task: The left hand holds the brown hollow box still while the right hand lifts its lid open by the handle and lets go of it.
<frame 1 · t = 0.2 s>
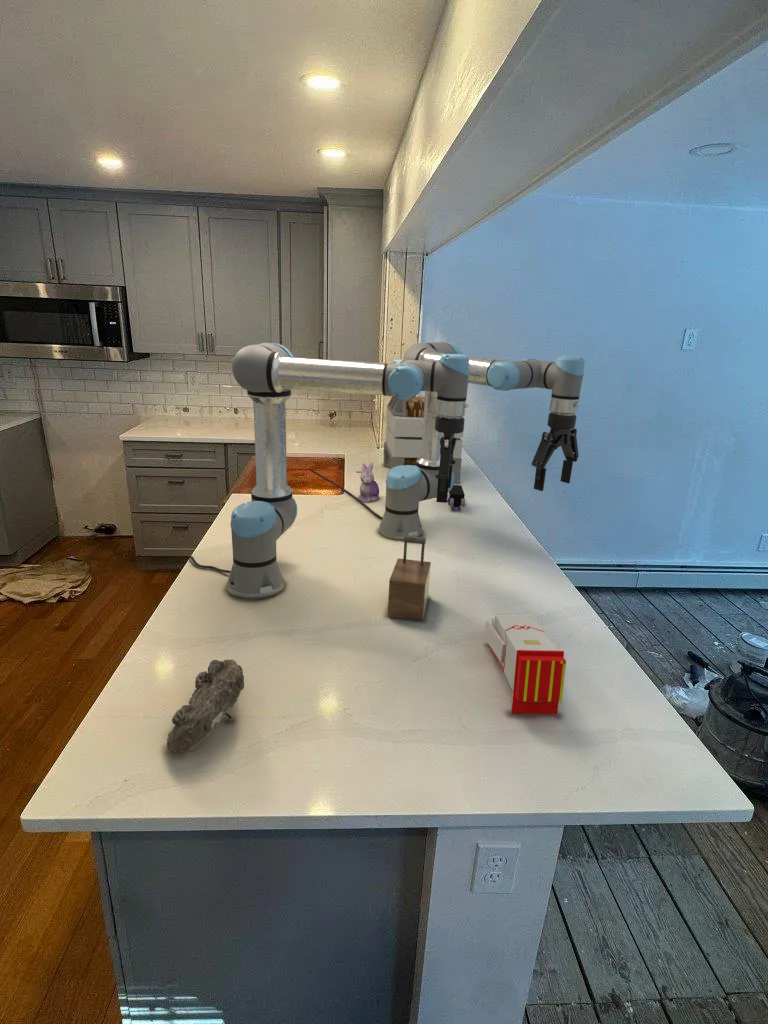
left hand: (443, 494, 153), 28 cm above the counter, tool pointing down, fingers open, 13 cm apart
right hand: (551, 485, 166), 28 cm above the counter, tool pointing down, fingers open, 13 cm apart
figurine: (368, 499, 235), on the counter
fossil: (212, 717, 108), on the counter
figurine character: (454, 506, 230), on the counter
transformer: (419, 473, 275), on the counter
brown hollow box: (408, 606, 151), on the counter
lid: (411, 558, 147), point 14 cm above the counter, hinge at 0.0°
toy: (516, 673, 125), on the counter
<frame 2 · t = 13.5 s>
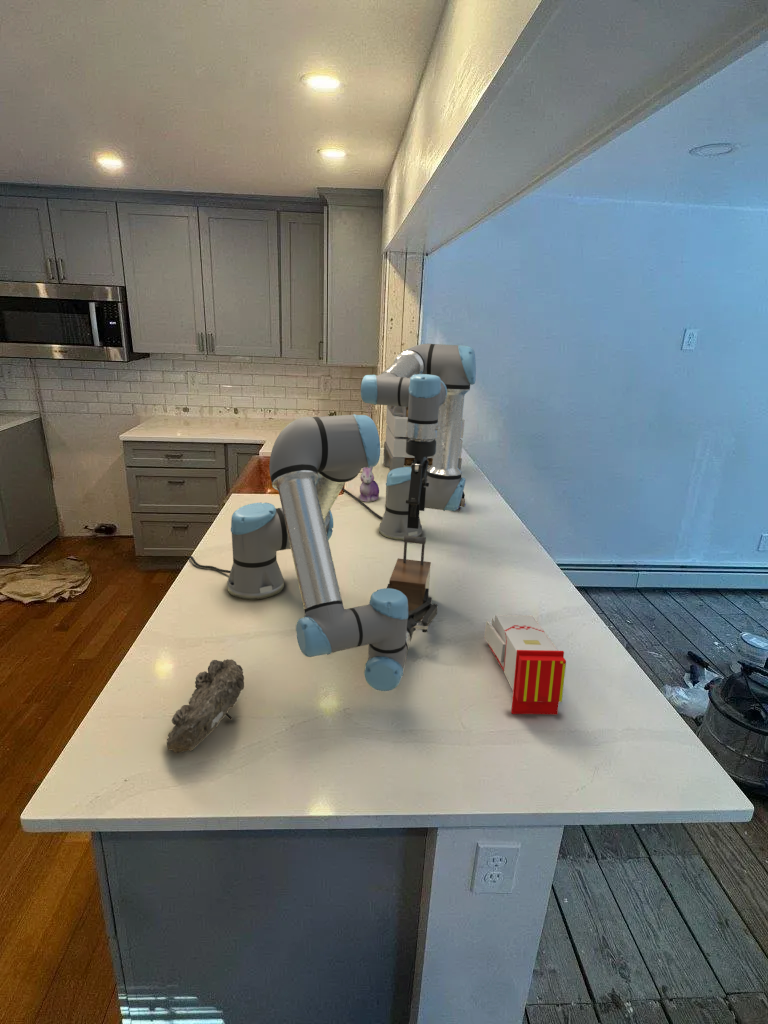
left hand: (408, 590, 146), 6 cm above the counter, tool horizontal, fingers closed on brown hollow box, 9 cm apart
right hand: (416, 518, 148), 23 cm above the counter, tool pointing down, fingers open, 13 cm apart
brown hollow box: (408, 606, 151), on the counter, touching left hand
everything else where it was.
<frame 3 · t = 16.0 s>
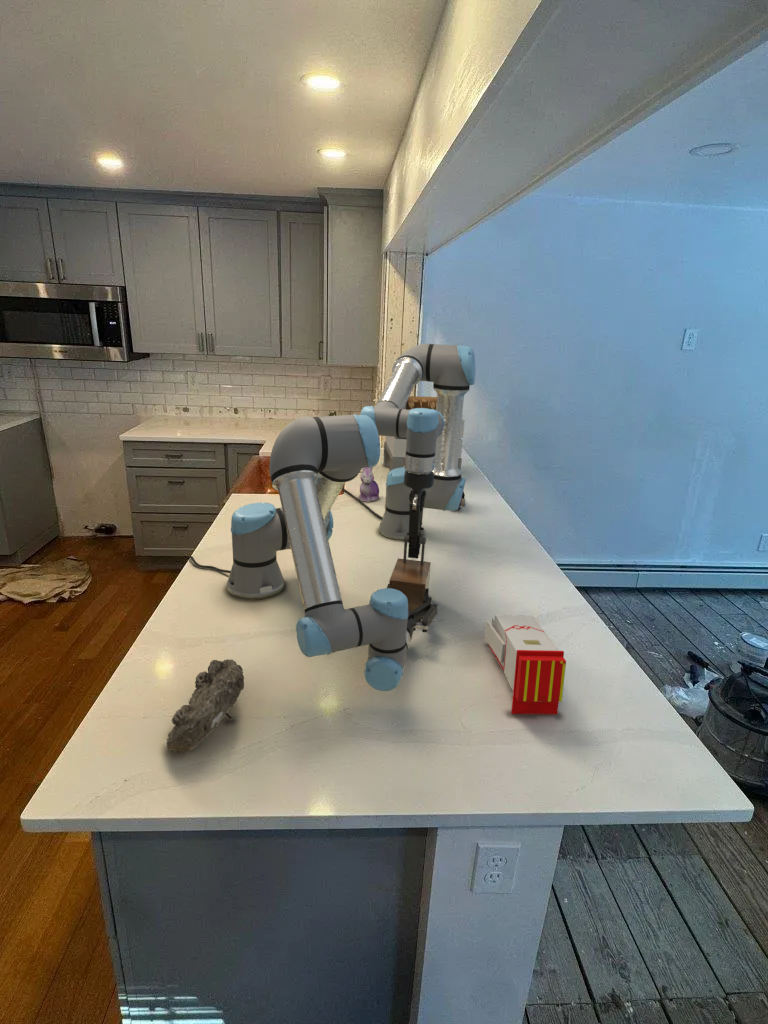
left hand: (408, 590, 146), 6 cm above the counter, tool horizontal, fingers closed on brown hollow box, 9 cm apart
right hand: (413, 555, 152), 13 cm above the counter, tool pointing down, fingers closed on lid, 2 cm apart
brown hollow box: (408, 606, 151), on the counter, touching left hand
lid: (411, 558, 147), point 14 cm above the counter, hinge at 0.0°, touching right hand
everything else where it was.
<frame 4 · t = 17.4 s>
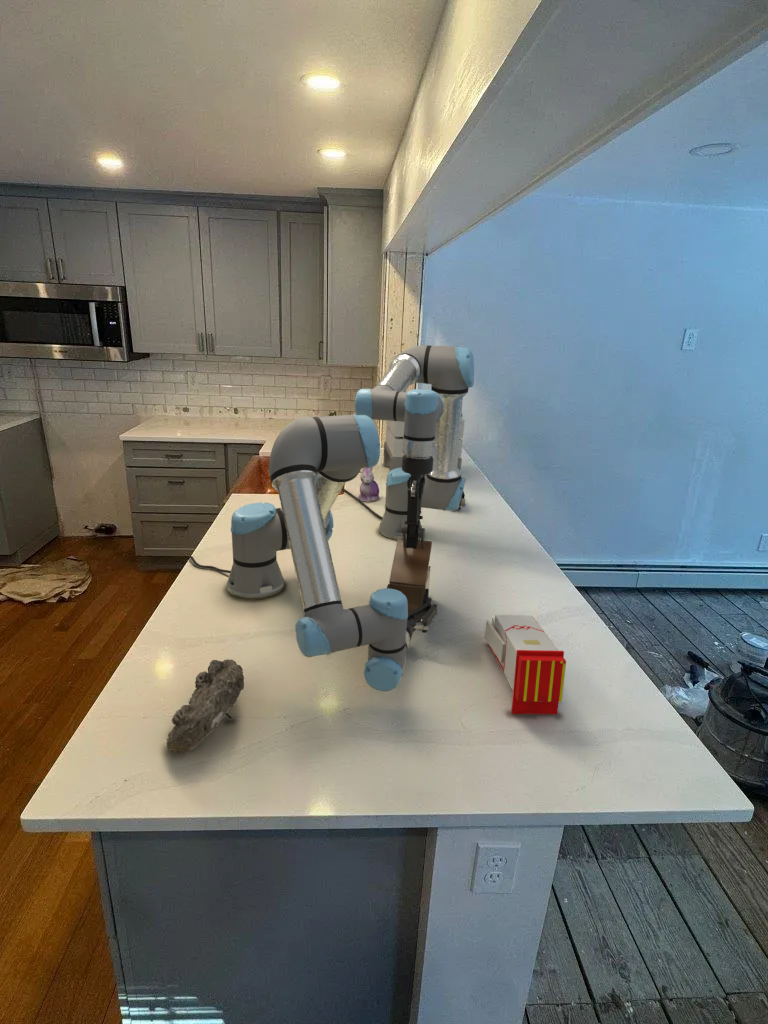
left hand: (408, 591, 146), 6 cm above the counter, tool horizontal, fingers closed on brown hollow box, 9 cm apart
right hand: (412, 545, 144), 18 cm above the counter, tool pointing down, fingers closed on lid, 2 cm apart
brown hollow box: (408, 606, 151), on the counter, touching left hand
lid: (410, 553, 143), point 17 cm above the counter, hinge at 31.7°, touching right hand
everything else where it was.
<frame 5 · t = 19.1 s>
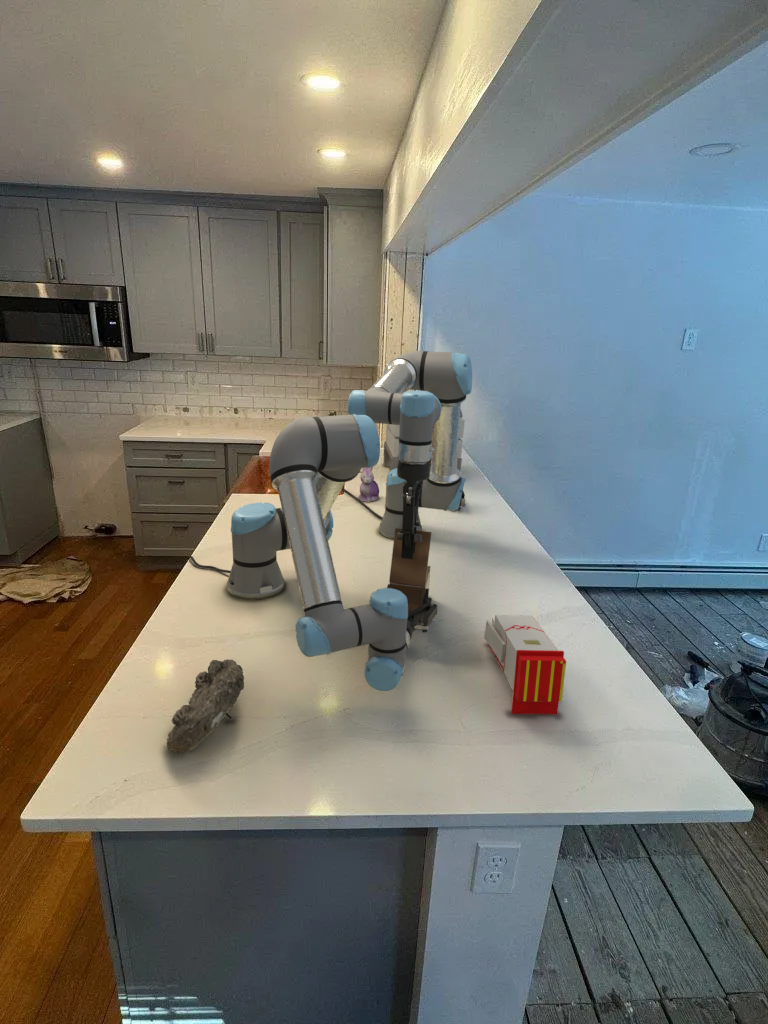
left hand: (408, 591, 146), 6 cm above the counter, tool horizontal, fingers closed on brown hollow box, 9 cm apart
right hand: (408, 554, 137), 19 cm above the counter, tool pointing down, fingers open, 3 cm apart
brown hollow box: (408, 606, 151), on the counter, touching left hand
lid: (408, 556, 139), point 18 cm above the counter, hinge at 63.8°
everything else where it was.
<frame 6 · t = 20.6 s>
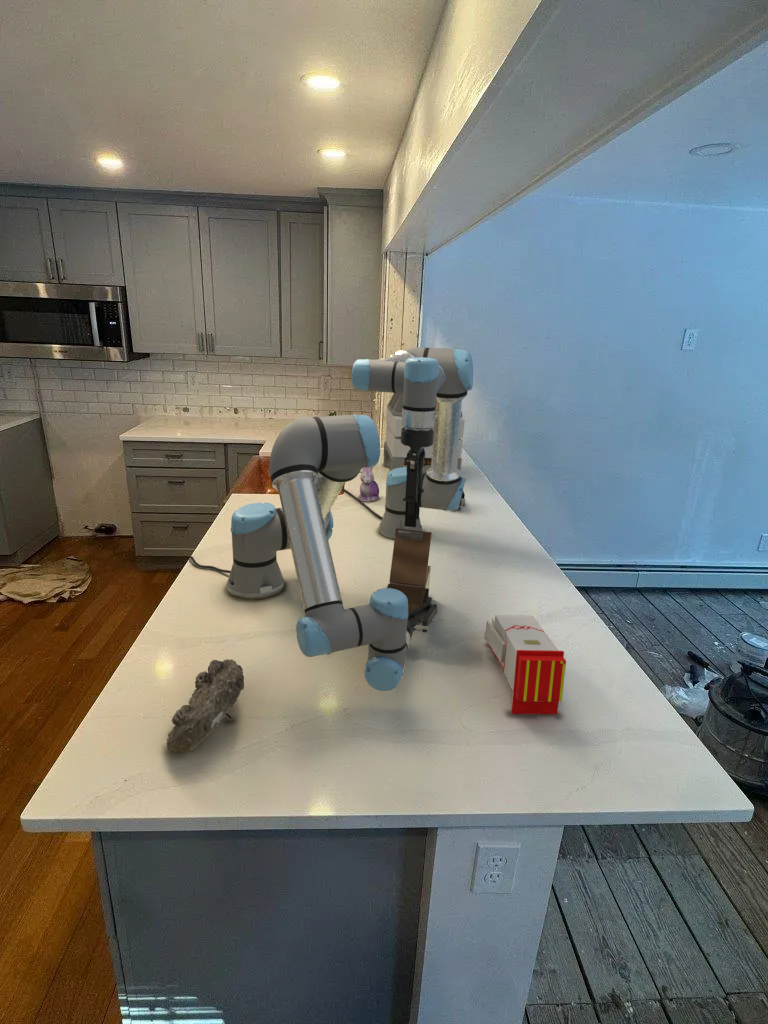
left hand: (408, 590, 146), 6 cm above the counter, tool horizontal, fingers closed on brown hollow box, 9 cm apart
right hand: (411, 522, 138), 26 cm above the counter, tool pointing down, fingers open, 5 cm apart
brown hollow box: (408, 606, 152), on the counter, touching left hand
lid: (409, 555, 139), point 18 cm above the counter, hinge at 59.8°
everything else where it was.
when the left hand's fingers open (6 cm above the counter, at t = 23.4 s): brown hollow box stays where it is, on the counter.
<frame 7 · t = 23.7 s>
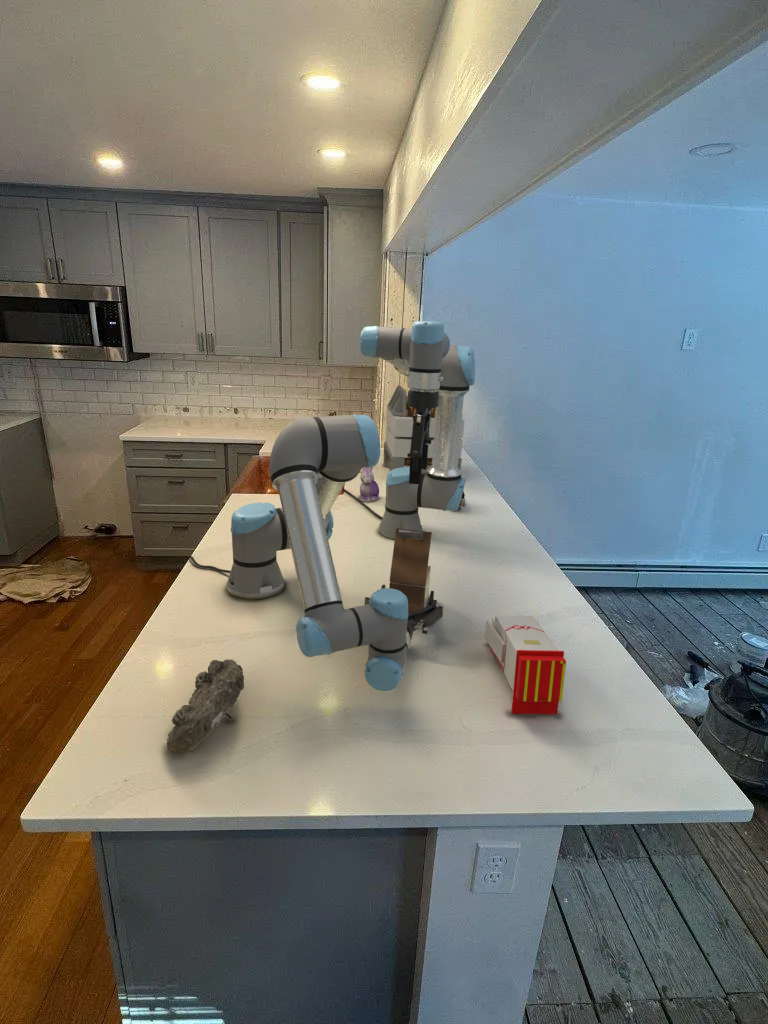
left hand: (407, 592, 145), 6 cm above the counter, tool horizontal, fingers open, 12 cm apart
right hand: (418, 476, 142), 36 cm above the counter, tool pointing down, fingers open, 13 cm apart
brown hollow box: (408, 606, 152), on the counter
lid: (409, 554, 140), point 18 cm above the counter, hinge at 59.0°
everything else where it was.
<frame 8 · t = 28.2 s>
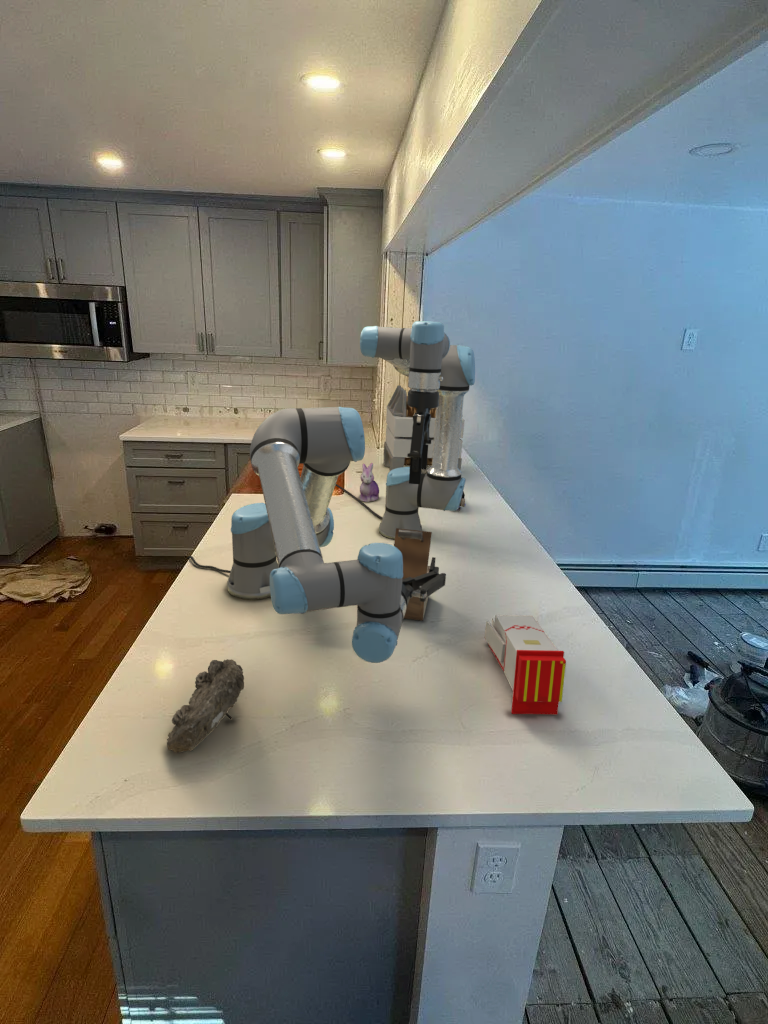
left hand: (403, 559, 129), 21 cm above the counter, tool horizontal, fingers open, 13 cm apart
right hand: (418, 476, 142), 36 cm above the counter, tool pointing down, fingers open, 13 cm apart
nothing on the counter moved.
at the end: lid at +59° (first picture: +0°); the left hand is holding nothing; the right hand is holding nothing; brown hollow box tilted 0°; brown hollow box never tilted more than 1° during the clip; brown hollow box moved 0.1 cm from its start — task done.
